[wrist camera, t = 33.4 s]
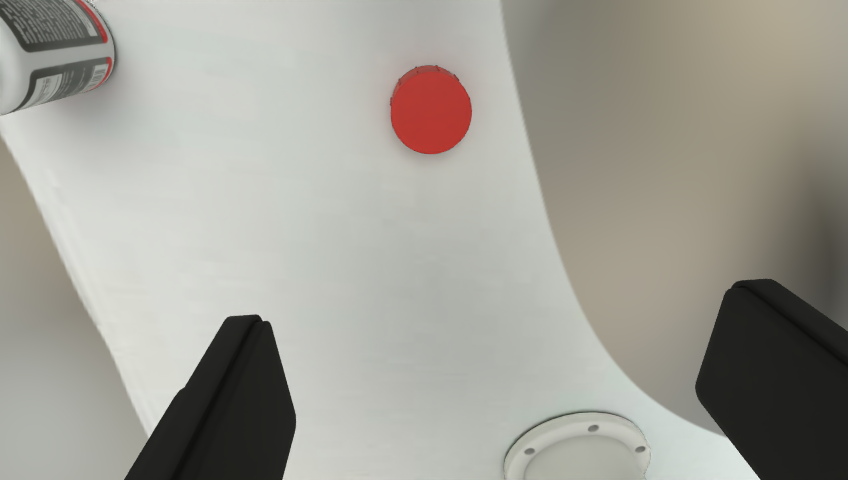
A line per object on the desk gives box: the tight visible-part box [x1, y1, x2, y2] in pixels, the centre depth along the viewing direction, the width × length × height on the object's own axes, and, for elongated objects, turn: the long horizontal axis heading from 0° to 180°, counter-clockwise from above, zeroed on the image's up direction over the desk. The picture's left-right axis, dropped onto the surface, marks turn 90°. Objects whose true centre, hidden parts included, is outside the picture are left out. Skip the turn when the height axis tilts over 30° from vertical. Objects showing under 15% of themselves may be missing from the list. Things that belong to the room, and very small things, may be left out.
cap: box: [390, 65, 472, 154], centre depth 22 cm, size 4×4×2 cm
